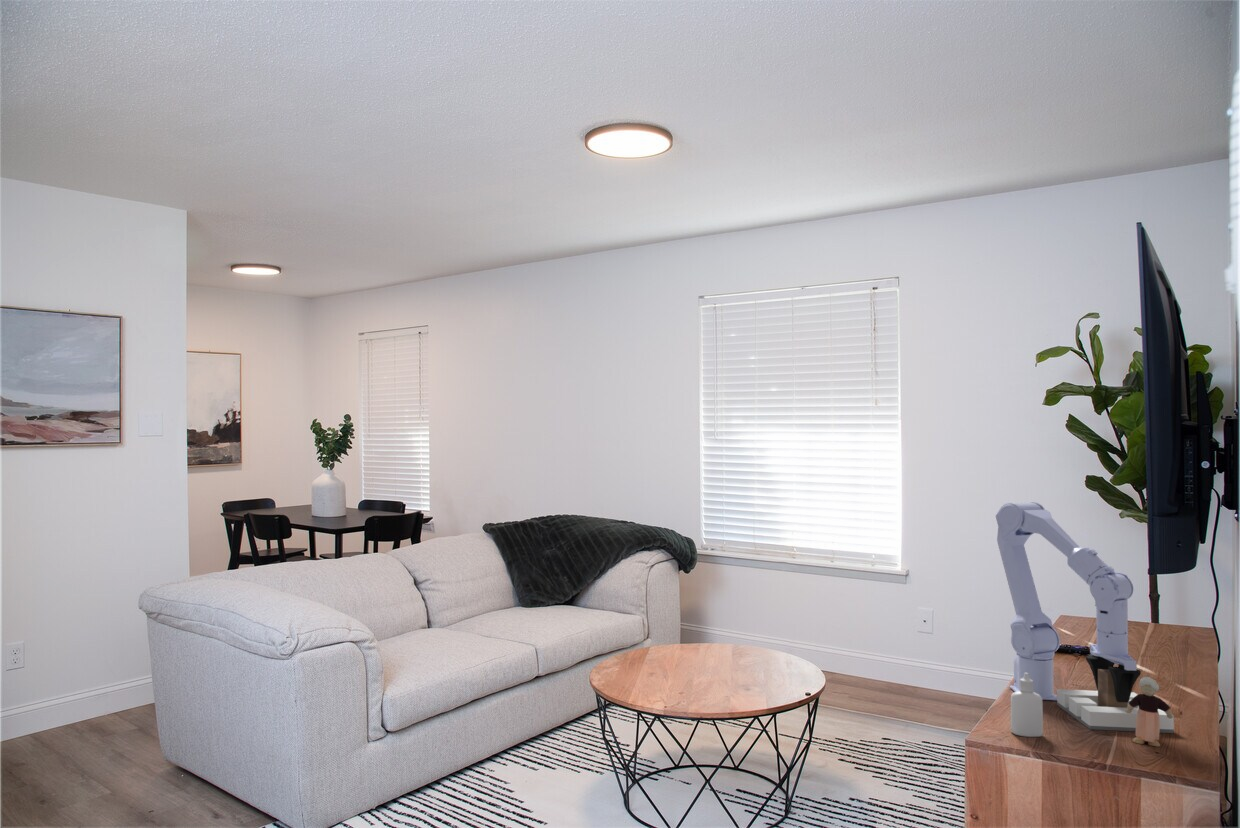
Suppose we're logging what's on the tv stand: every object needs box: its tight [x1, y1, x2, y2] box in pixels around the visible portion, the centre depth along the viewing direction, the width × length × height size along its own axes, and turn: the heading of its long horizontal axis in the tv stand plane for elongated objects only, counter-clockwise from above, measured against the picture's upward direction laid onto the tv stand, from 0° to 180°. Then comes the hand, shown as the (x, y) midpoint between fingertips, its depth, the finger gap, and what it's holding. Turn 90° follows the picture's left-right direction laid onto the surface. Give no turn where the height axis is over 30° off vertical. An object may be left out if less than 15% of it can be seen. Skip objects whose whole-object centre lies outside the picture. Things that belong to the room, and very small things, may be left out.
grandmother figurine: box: [1126, 676, 1174, 747], centre depth 163 cm, size 8×4×13 cm, turn 69°
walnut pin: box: [1097, 669, 1128, 708], centre depth 178 cm, size 4×4×9 cm
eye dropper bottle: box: [1010, 673, 1044, 738], centre depth 167 cm, size 4×6×12 cm
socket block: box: [1056, 688, 1175, 734], centre depth 177 cm, size 16×16×4 cm
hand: (1112, 696), depth 178 cm, fingers open, 7 cm apart
